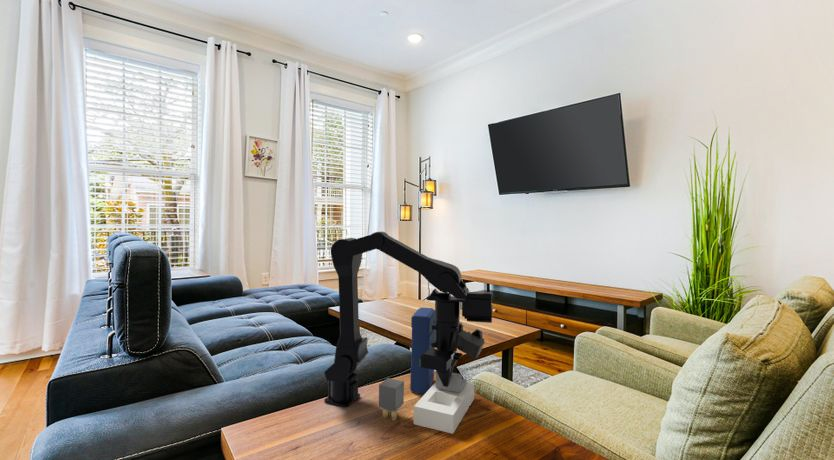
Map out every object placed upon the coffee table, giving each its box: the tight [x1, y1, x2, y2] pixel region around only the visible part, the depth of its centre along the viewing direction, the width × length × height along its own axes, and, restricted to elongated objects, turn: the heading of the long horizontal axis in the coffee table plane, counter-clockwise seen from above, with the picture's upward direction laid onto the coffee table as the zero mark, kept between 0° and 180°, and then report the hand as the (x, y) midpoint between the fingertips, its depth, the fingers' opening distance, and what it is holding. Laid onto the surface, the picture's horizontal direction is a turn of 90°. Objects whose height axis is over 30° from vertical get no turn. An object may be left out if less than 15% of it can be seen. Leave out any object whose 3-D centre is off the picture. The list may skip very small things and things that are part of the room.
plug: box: [378, 377, 405, 421], centre depth 88 cm, size 4×4×8 cm
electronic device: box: [409, 307, 436, 395], centre depth 104 cm, size 10×5×20 cm, turn 168°
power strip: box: [413, 381, 475, 434], centre depth 91 cm, size 9×17×4 cm, turn 157°
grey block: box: [435, 370, 468, 393], centre depth 95 cm, size 6×6×4 cm
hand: (445, 386), depth 91 cm, fingers closed
